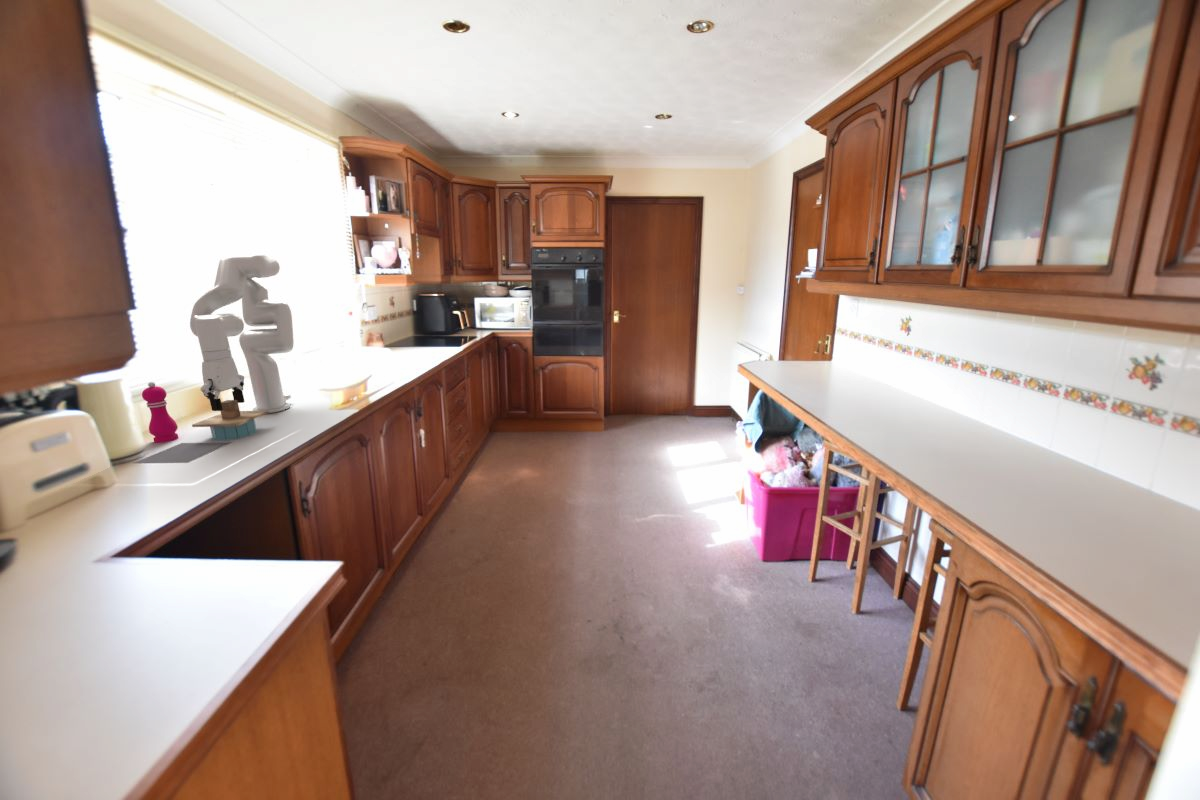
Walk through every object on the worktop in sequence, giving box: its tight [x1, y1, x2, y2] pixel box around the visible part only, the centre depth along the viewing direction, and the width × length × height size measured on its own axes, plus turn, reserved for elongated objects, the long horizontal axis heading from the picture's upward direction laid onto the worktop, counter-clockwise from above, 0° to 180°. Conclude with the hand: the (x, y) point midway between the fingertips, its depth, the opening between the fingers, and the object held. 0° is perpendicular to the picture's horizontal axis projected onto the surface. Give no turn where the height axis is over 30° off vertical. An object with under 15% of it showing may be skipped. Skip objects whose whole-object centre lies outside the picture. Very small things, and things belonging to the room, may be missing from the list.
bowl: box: [209, 418, 258, 441], centre depth 174 cm, size 12×12×6 cm
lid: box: [191, 399, 270, 428], centre depth 172 cm, size 15×15×6 cm
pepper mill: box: [141, 381, 179, 444], centre depth 168 cm, size 7×7×20 cm
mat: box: [133, 441, 232, 464], centre depth 158 cm, size 17×17×1 cm
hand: (228, 406), depth 172 cm, fingers open, 9 cm apart
